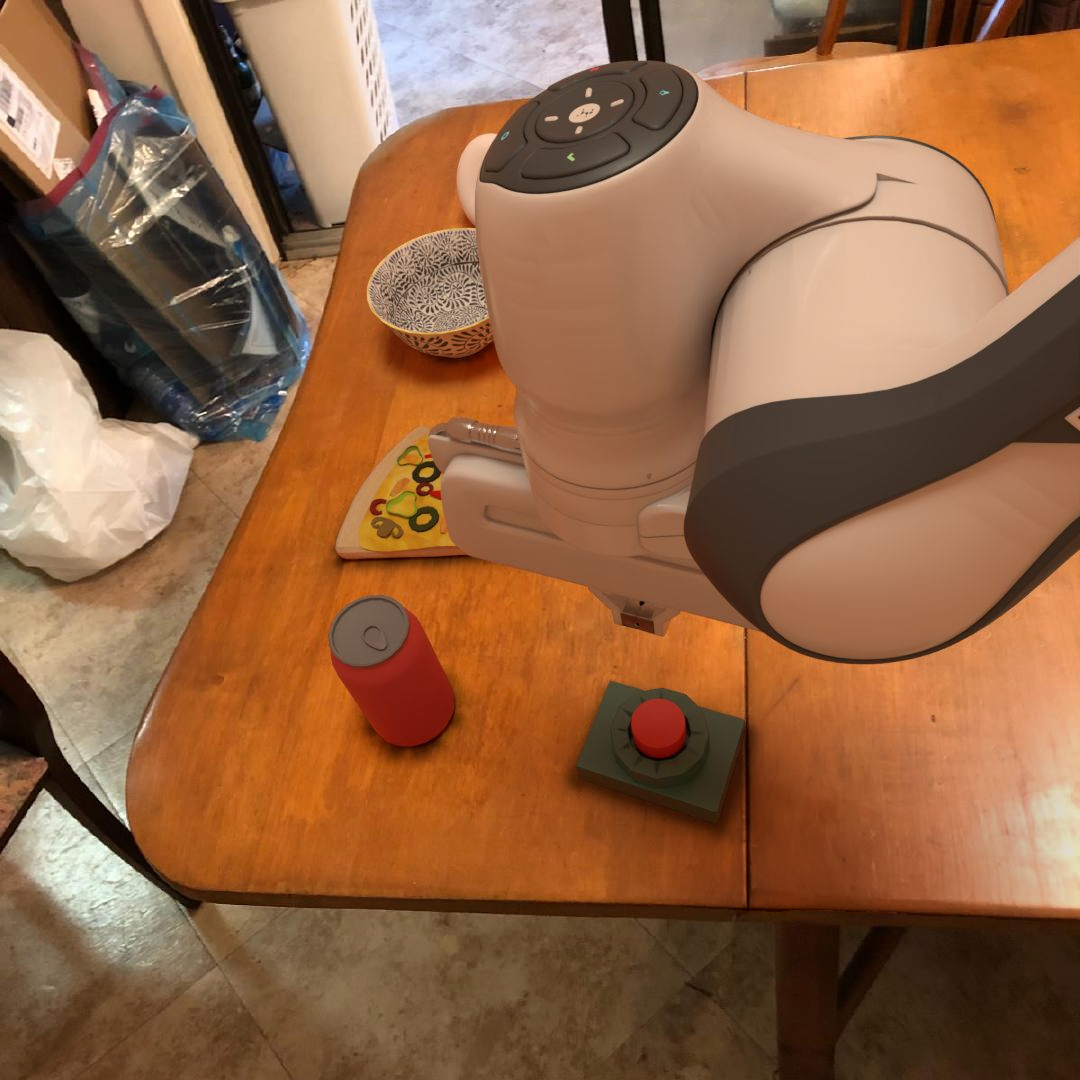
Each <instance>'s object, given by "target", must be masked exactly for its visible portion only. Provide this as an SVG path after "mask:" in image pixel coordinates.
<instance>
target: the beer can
mask: <svg viewBox="0 0 1080 1080" xmlns="http://www.w3.org/2000/svg"><path fill="white" fill-rule="evenodd" d="M327 639H328V647H329V650H330V651H329V652H330V660H331V665H332V667H333V669H334V671H335V672H336V675H337V676H338V677H339V679H340V681H341V682H342V684H343V685H344V687H345V688H346V690H347V691H348V693H349V694H350V696H351V697H352V699H353V700H354V702H355V703H356V704H357V706H358V708H359V709H360V710H361V712H362V714H363V715H364V716H365V718H366V720H367V721H368V723H369V724H370V725H371V727H372V728H373V730H374V731H375V733H376V734H377V736H379V737H380V738H382V740H384V741H385V742H386V743H389V744H391V745H395V746H398V747H415V746H419V745H422V744H426V743H428V742H429V741H431V740H433V739H435V738H436V737H438V736H439V734H441V733H442V731H443V730H444V729H445V728H446V727H447V726H448V724H449V722H450V720H451V719H452V716H453V714H454V710H455V704H456V703H455V702H456V699H455V694H454V689H453V687H452V684H451V682H450V680H449V678H448V676H447V675H446V672H445V670H444V668H443V666H442V664H441V662H440V659H439V657H438V656H437V654H436V652H435V650H434V647H433V645H432V643H431V641H430V639H429V636H428V635H427V633H426V631H425V629H424V627H423V625H422V624H421V622H420V621H419V619H418V617H417V616H416V615H415V614H414V613H413V612H411V611H410V610H409V609H408V608H406V607H405V606H404V605H403V604H402V603H400V602H399V601H398V600H397V599H396V598H394V597H391V596H387V595H385V594H369V595H366V596H362V597H358V598H356V599H355V600H353V601H351V602H349V603H347V604H346V605H345V606H344V607H343V608H342V609H341V610H340V611H338V612H337V613H336V615H335V617H334V618H333V620H332V622H331V624H330V626H329V631H328V633H327Z"/></svg>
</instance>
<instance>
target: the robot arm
mask: <svg viewBox="0 0 1080 1080" xmlns="http://www.w3.org/2000/svg"><path fill="white" fill-rule="evenodd" d="M496 134H497V136H496V137H495V139H494V140H493V142H492V144H491V145H490V147H489V149H488V151H487V153H486V155H485V157H484V160H483V162H482V165H481V167H480V170H479V173H478V177H477V182H476V189H475V226H474V228H476V240H477V250H478V257H479V264H480V272H481V278H482V283H483V289H484V295H485V301H486V305H487V310H488V315H489V320H490V325H491V330H492V335H493V339H494V340H493V344H494V347H495V352H496V355H497V358H498V360H499V363H500V365H501V367H502V370H503V372H504V373H505V375H506V376H507V378H508V380H509V381H510V382H511V384H512V385H513V387H514V388H515V395H514V402H513V420H514V421H513V422H514V427H512V426H507V425H498V424H497V425H494V424H488V423H484V422H483V423H482V422H479V421H478V420H476V419H473V418H468V417H463V416H462V417H461V416H459V417H458V416H456V417H455V416H454V417H451V418H449V420H447V422H441V423H438V424H436V425H434V426H433V427H431V428H430V429H431V431H430V433H429V438H428V446H429V449H430V452H431V455H432V457H433V460H434V463H435V465H436V466H437V468H438V469H439V470H440V472H441V473H442V474H443V476H442V479H441V499H442V507H443V512H444V517H445V522H446V526H447V530H448V533H449V536H450V539H451V541H452V542H453V543H454V544H455V545H456V546H457V547H458V548H460V549H461V550H462V551H463V552H464V553H466V554H467V555H466V556H469V557H472V558H475V559H480V560H483V561H487V562H492V563H495V564H499V565H503V566H507V567H510V568H514V569H517V570H521V571H525V572H529V573H533V574H537V575H541V576H545V577H549V578H553V579H556V580H560V581H564V582H568V583H571V584H575V585H578V586H583V587H587V589H588V591H589V592H590V593H591V594H592V595H593V596H595V598H597V599H598V601H600V602H601V603H602V604H603V605H604V606H606V608H607V609H609V610H610V611H611V615H612V621H613V624H614V625H619V626H622V627H626V628H630V629H634V630H638V631H641V632H644V633H648V634H652V635H655V636H659V637H662V638H664V637H665V636H666V635H667V632H668V629H669V627H670V624H671V622H672V619H674V618H676V617H677V616H678V615H680V614H681V612H683V613H687V614H691V615H695V616H699V617H702V618H706V619H710V620H714V621H717V622H722V623H725V624H729V625H733V626H735V627H740V628H744V629H748V630H753V631H755V632H760V633H763V634H765V635H766V636H767V637H768V638H770V639H772V640H773V641H775V642H777V643H778V644H779V645H782V646H783V647H785V648H787V649H789V650H791V651H793V652H795V653H798V654H800V655H803V656H805V657H809V658H812V659H814V660H815V659H816V660H820V661H825V662H829V663H830V662H831V663H837V664H845V665H882V664H883V665H884V664H891V663H898V662H899V663H900V662H904V661H910V660H914V659H918V658H921V657H925V656H929V655H932V654H935V653H937V652H940V651H943V650H945V649H948V648H950V647H951V646H954V645H956V644H958V643H960V642H962V641H964V640H965V639H968V638H970V637H971V636H974V635H975V634H977V633H978V632H981V630H983V629H985V628H986V627H988V626H989V625H992V624H993V623H994V622H995V621H996V620H998V619H999V618H1001V617H1003V616H1004V615H1005V614H1006V613H1007V612H1009V611H1010V610H1011V609H1013V608H1014V607H1016V606H1017V605H1018V604H1019V603H1020V602H1022V601H1023V600H1024V599H1025V598H1027V597H1028V596H1029V595H1030V594H1031V593H1032V592H1033V591H1034V590H1036V588H1038V587H1039V586H1041V585H1042V584H1043V583H1044V582H1045V581H1046V580H1047V579H1048V578H1049V577H1050V576H1052V575H1053V574H1054V573H1055V572H1056V571H1057V570H1059V568H1060V567H1062V565H1064V564H1065V563H1066V562H1067V561H1068V560H1069V559H1071V558H1072V557H1073V556H1074V555H1076V554H1077V553H1078V552H1079V551H1080V235H1079V236H1077V237H1076V238H1075V239H1074V240H1073V241H1072V242H1071V243H1069V244H1068V245H1067V246H1065V248H1064V249H1062V250H1061V251H1060V252H1059V253H1057V254H1056V255H1055V256H1054V257H1052V259H1050V260H1049V261H1048V262H1046V263H1045V264H1044V265H1043V266H1042V267H1040V268H1039V269H1038V270H1037V271H1036V272H1035V273H1033V274H1032V275H1031V276H1030V277H1029V278H1027V279H1026V280H1024V281H1023V283H1022V284H1020V285H1019V286H1018V287H1017V288H1015V289H1014V290H1013V291H1012V292H1011V293H1010V287H1009V283H1008V277H1007V272H1006V266H1005V261H1004V255H1003V250H1002V246H1001V241H1000V236H999V232H998V228H997V222H996V215H995V211H994V207H993V204H992V202H991V199H990V196H989V195H988V193H987V191H986V189H985V187H984V186H983V184H982V183H981V181H980V180H979V179H978V177H977V176H976V175H975V174H974V172H972V171H971V170H970V169H969V168H968V167H967V166H966V165H965V164H964V163H963V162H961V161H960V160H959V159H958V158H956V157H955V156H953V155H951V154H949V153H948V152H946V151H944V150H943V149H940V148H938V147H936V146H934V145H931V144H928V143H926V142H923V141H921V140H920V141H919V140H916V139H912V138H908V137H902V136H894V135H882V134H881V135H878V134H876V135H875V134H873V135H872V134H871V135H860V136H859V135H858V136H850V137H849V136H848V137H836V136H832V135H826V134H821V133H816V132H812V131H809V130H804V129H801V128H796V127H793V126H790V125H786V124H782V123H780V122H776V121H773V120H770V119H768V118H764V117H762V116H759V115H757V114H755V113H752V112H750V111H748V110H745V109H744V108H742V107H740V106H738V105H736V104H735V103H732V102H731V101H729V100H728V99H726V98H725V97H724V96H723V95H721V93H719V92H718V91H716V90H715V89H714V88H713V87H712V86H711V85H710V84H708V83H707V82H706V81H705V80H704V79H703V78H701V77H700V76H699V75H698V74H696V73H695V72H693V71H692V70H690V69H687V68H685V67H683V66H681V65H677V64H674V63H670V62H665V61H659V60H624V61H623V60H622V61H617V62H609V63H605V64H601V65H597V66H593V67H590V68H587V69H583V70H581V71H578V72H576V73H573V74H571V75H569V76H567V77H564V78H562V79H560V80H557V81H556V82H553V83H552V84H550V85H548V86H547V88H546V89H545V90H543V91H541V92H540V93H538V94H537V95H535V96H534V97H533V98H530V99H529V100H528V101H527V102H525V104H522V105H520V106H519V108H517V109H516V110H515V111H514V112H513V114H511V116H510V117H509V118H508V119H507V121H506V122H505V123H504V124H503V126H502V127H501V128H500V130H499V131H498V132H497V133H496Z"/></svg>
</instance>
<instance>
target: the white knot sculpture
mask: <svg viewBox="0 0 1080 1080" xmlns="http://www.w3.org/2000/svg"><path fill="white" fill-rule="evenodd" d="M497 134H498V133H492V132H491V133H483V134H480V135H478V136H476V137H475V138H473V139H472V140H471V141H470V142H469V143H468V144H467V145H466V147H465V148H464V150H463V151H462V152H461V156H460V159H459V161H458V164H457V170H456V191H457V196H458V200H459V201H458V202H459V203H460V207H461V209H462V211H463V213H464V215H465V217H466V218H467V219H468V221H469V222H470V223H471V224H472V225H473V226H474V227H475V189H476V182H477V177H478V173H479V170H480V167H481V165H482V162H483V160H484V157H485V155H486V153H487V151H488V149H489V147H490V145H491V144H492V142H493V140H494V139H495V137H496V136H497Z"/></svg>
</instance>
